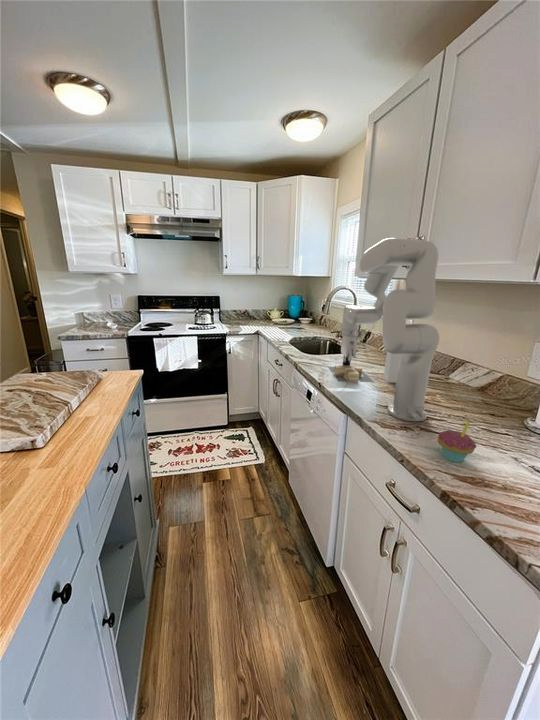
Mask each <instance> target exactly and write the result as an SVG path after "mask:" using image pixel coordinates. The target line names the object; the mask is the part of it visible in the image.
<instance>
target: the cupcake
mask: <svg viewBox="0 0 540 720" xmlns="http://www.w3.org/2000/svg"><path fill="white" fill-rule="evenodd" d="M470 421H471V419H469V420H468V421H466V422H465V425H464V428H463V429H462V431H455V430H451V429H450V430H445V431H444V430H443V431H441V432H439V433H438V436H437V440H436V442H437V443H438V445H440V446H441V450H442V455H443V457H444V458H445V459H446V460H448V461H451V462H453V463H462V462H464V461H465V459H466V458H467V456H468V455H471V454H473V453H474V452H475V449H476V448H477V445H476V443H475V442H474V440H473V439H472V438H471V437H470V436H469V435H467V433H466V432H467V430H468V428H469V426H470V424H471V422H470Z"/></svg>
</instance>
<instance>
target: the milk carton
mask: <svg viewBox="0 0 540 720" xmlns="http://www.w3.org/2000/svg"><path fill="white" fill-rule="evenodd" d="M403 355H404V354H392V353H389V352H388V351H387V350H386V357H385V364H384V371H383V378H384V380H385V381H386V382H387V383H395V384H396V382H397V375H398V369H399V364H400V361H401V359H402V357H403Z"/></svg>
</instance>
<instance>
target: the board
mask: <svg viewBox="0 0 540 720" xmlns="http://www.w3.org/2000/svg"><path fill="white" fill-rule="evenodd" d="M334 367H335V366H327V368H328V370H329V371H330V372H331V374H332V375H333V376H334V377H335V378H336V380H337V382H340V383H341V382H348V383H350V382H349V381H348V380H347V379H346V378H345V376H336V375H335V374H334ZM374 382H375V381H374V380H373V379H372V378H371V377H370V376H368V374H366V372H364V370H362V376H359V380H358V382H357V383H374Z"/></svg>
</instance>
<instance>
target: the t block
mask: <svg viewBox="0 0 540 720" xmlns="http://www.w3.org/2000/svg"><path fill="white" fill-rule="evenodd" d="M333 367H334V374H335V375H336V376H345V378H346V379H347V380H348V381H349V382H348V383H359V382H358V380H359V376H362V371H363V368H362V366H361V365H350V366H342V364H341V365H334V366H333Z"/></svg>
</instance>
